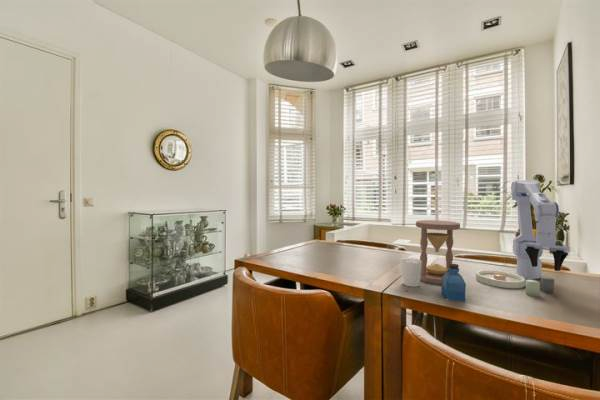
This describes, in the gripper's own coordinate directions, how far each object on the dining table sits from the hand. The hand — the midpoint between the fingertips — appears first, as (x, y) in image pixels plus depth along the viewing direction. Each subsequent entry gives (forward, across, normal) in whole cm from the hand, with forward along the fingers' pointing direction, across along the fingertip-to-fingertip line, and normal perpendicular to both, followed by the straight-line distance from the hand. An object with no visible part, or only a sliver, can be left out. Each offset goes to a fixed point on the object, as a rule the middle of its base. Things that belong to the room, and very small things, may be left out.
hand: (545, 268), depth 113 cm
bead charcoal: (+9, 0, +1) cm, 9 cm away
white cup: (+10, -26, -42) cm, 50 cm away
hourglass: (+9, -28, -26) cm, 39 cm away
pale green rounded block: (+9, 0, -8) cm, 12 cm away
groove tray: (+8, -15, -4) cm, 18 cm away
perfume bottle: (+11, -9, -38) cm, 40 cm away
